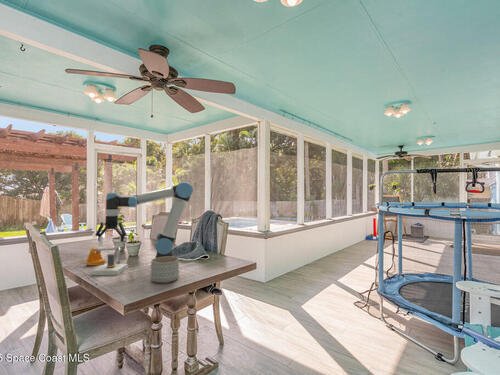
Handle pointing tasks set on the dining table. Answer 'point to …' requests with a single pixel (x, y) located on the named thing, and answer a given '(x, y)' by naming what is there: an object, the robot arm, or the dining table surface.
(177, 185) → the robot arm
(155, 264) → the planter
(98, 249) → the handle
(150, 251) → the dining table surface
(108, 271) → the socket block
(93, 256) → the bracket
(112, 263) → the plug
